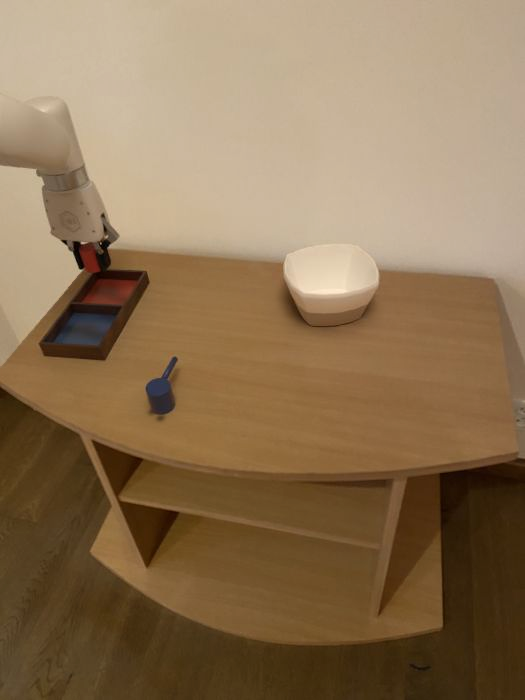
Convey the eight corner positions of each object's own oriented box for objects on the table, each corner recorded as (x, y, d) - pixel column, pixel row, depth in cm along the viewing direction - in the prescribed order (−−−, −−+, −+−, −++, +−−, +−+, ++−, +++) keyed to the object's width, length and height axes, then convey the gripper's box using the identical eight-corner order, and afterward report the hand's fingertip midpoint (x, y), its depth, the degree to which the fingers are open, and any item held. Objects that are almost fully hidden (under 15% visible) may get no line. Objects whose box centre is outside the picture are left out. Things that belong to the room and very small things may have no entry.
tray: (104, 360, 93) (100, 347, 91) (44, 355, 95) (38, 343, 93) (149, 282, 112) (146, 270, 110) (98, 280, 114) (94, 268, 112)
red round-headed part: (100, 273, 98) (93, 253, 95) (81, 272, 99) (74, 251, 96) (121, 248, 105) (116, 228, 102) (104, 246, 106) (98, 227, 103)
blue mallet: (169, 416, 82) (164, 397, 79) (147, 412, 83) (141, 393, 80) (190, 375, 89) (186, 356, 86) (169, 372, 90) (164, 353, 87)
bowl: (276, 288, 107) (274, 249, 101) (358, 277, 108) (361, 237, 102) (294, 342, 94) (293, 301, 87) (387, 328, 95) (392, 287, 89)
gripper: (11, 183, 87) (47, 273, 99) (98, 188, 83) (125, 281, 95) (35, 166, 92) (68, 253, 104) (119, 170, 88) (142, 260, 100)
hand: (95, 266), depth 100 cm, fingers closed on red round-headed part, 4 cm apart
